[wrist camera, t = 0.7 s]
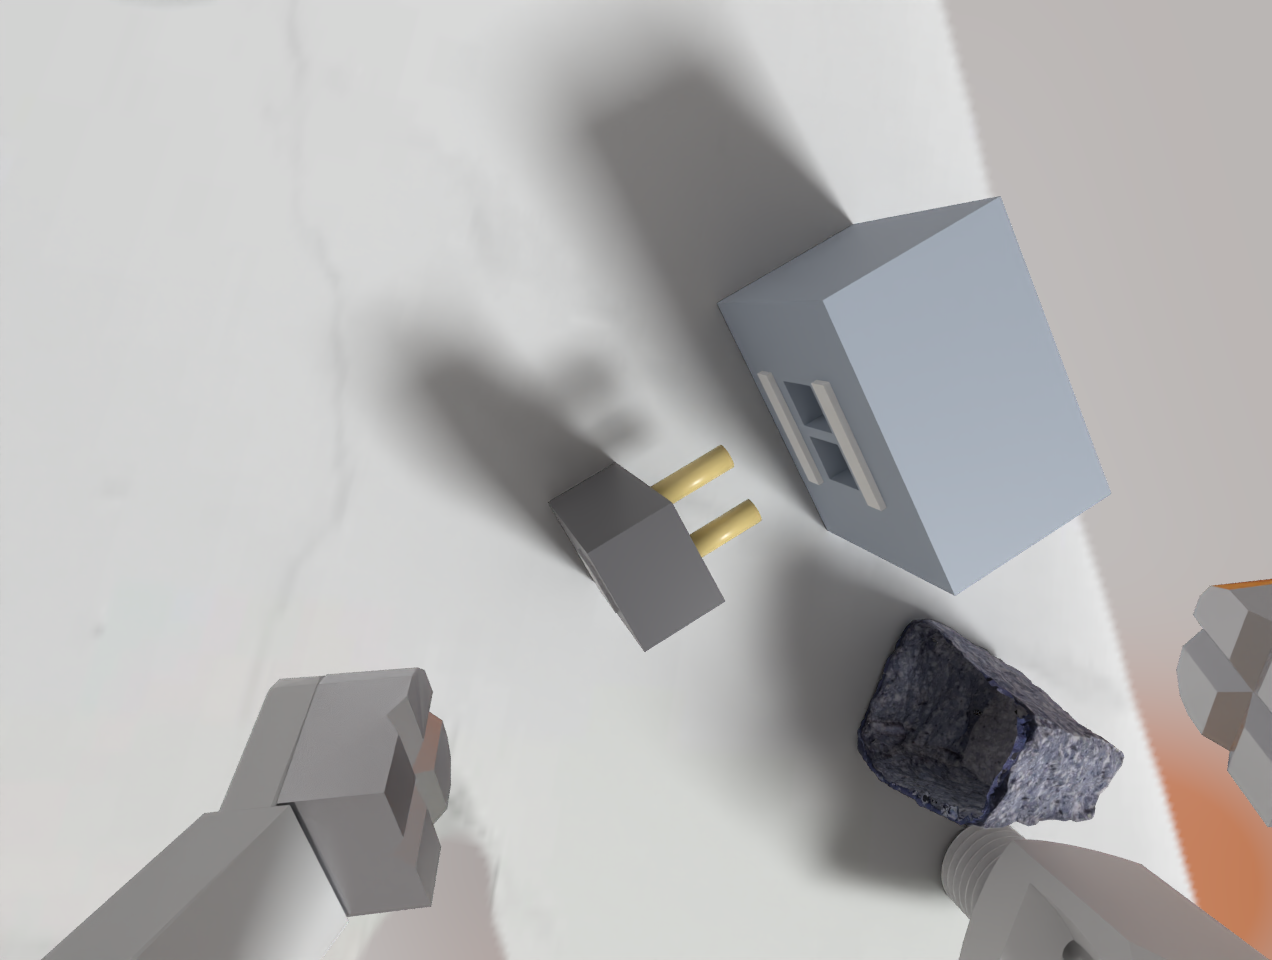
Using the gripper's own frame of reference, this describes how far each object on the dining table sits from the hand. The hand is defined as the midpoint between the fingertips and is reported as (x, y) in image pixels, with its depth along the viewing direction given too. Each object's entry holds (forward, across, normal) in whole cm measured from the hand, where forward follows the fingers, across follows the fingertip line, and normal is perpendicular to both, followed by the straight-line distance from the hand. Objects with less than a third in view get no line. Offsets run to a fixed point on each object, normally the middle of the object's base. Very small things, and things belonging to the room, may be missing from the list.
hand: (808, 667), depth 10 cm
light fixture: (+26, -16, +46) cm, 56 cm away
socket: (+36, -9, +16) cm, 40 cm away
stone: (+30, -14, +35) cm, 48 cm away
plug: (+31, +3, +20) cm, 37 cm away
